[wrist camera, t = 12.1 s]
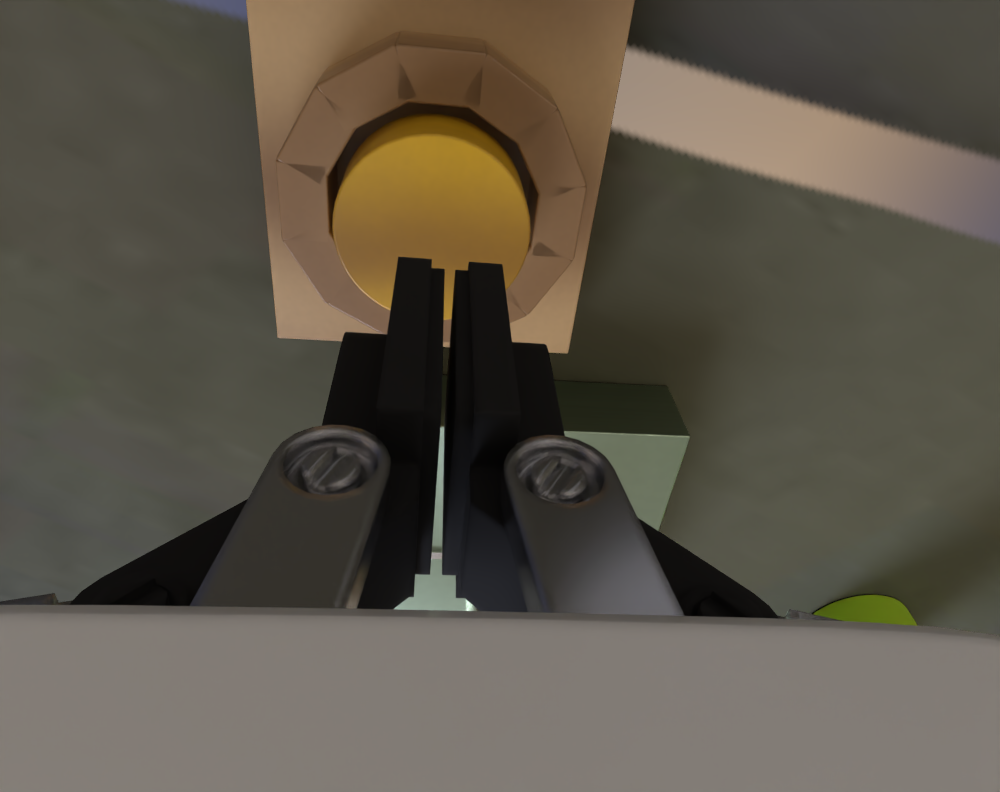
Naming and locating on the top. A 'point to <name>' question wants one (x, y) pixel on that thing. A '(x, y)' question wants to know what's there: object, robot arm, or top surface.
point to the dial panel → (612, 431)
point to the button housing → (433, 90)
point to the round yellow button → (429, 204)
